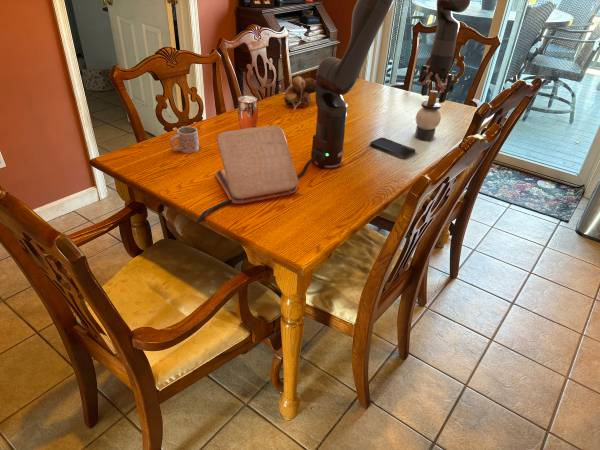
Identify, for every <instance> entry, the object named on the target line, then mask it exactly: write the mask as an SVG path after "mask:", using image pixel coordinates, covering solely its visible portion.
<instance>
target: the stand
mask: <svg viewBox="0 0 600 450" xmlns="http://www.w3.org/2000/svg"><path fill="white" fill-rule="evenodd" d="M436 129H437V127H436V128H435V129H433V130H423V129H421V128H419V127H418V125H417V124H416V128H415V133H414V138H415V139H417V140H418V141H419V140H420V141H424V142H430V141H433V140H434V138H435V135H436Z"/></svg>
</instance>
